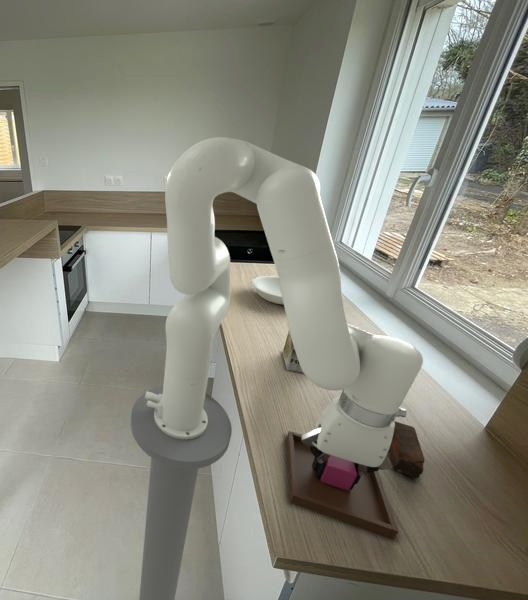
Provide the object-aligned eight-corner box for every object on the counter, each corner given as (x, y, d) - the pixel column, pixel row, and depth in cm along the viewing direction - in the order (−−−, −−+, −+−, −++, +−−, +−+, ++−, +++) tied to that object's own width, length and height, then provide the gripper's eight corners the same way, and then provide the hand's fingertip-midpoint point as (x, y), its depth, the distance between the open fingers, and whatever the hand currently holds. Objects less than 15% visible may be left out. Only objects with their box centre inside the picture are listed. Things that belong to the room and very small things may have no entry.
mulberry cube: (320, 482, 60) (328, 465, 58) (317, 461, 64) (324, 445, 62) (348, 491, 59) (357, 474, 57) (343, 470, 63) (351, 454, 61)
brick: (384, 434, 72) (392, 419, 70) (406, 442, 71) (415, 426, 69) (392, 472, 64) (401, 455, 62) (417, 481, 62) (427, 465, 60)
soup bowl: (315, 299, 137) (319, 285, 135) (300, 319, 121) (304, 303, 118) (259, 284, 151) (262, 271, 148) (238, 300, 135) (241, 286, 132)
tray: (290, 502, 58) (293, 495, 57) (286, 437, 71) (288, 430, 70) (393, 539, 53) (398, 531, 52) (368, 461, 66) (372, 454, 65)
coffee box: (310, 374, 91) (327, 325, 84) (286, 369, 93) (300, 321, 86) (304, 356, 99) (318, 310, 92) (281, 352, 101) (294, 306, 94)
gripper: (418, 406, 54) (378, 476, 62) (307, 379, 60) (283, 447, 68) (438, 439, 48) (390, 513, 56) (312, 406, 53) (285, 478, 61)
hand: (332, 476), depth 62 cm, fingers closed on mulberry cube, 4 cm apart
